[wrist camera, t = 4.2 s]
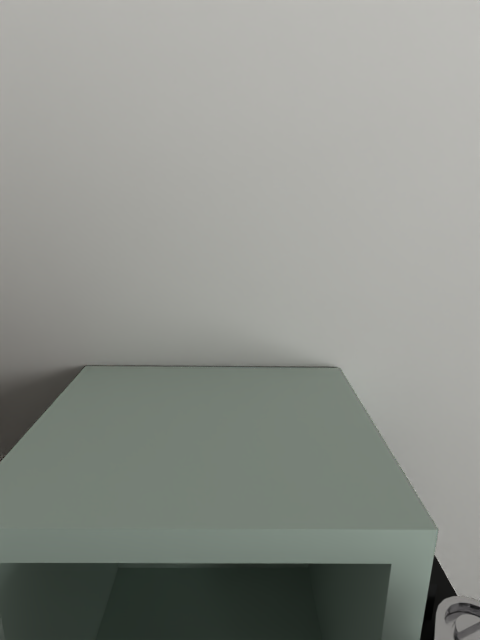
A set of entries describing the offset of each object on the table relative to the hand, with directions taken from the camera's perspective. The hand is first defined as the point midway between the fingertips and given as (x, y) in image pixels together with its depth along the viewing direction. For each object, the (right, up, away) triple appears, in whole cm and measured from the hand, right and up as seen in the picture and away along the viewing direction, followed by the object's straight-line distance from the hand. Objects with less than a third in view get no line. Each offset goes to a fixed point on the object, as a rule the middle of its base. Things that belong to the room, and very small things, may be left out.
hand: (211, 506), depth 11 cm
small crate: (0, 0, +1) cm, 1 cm away
